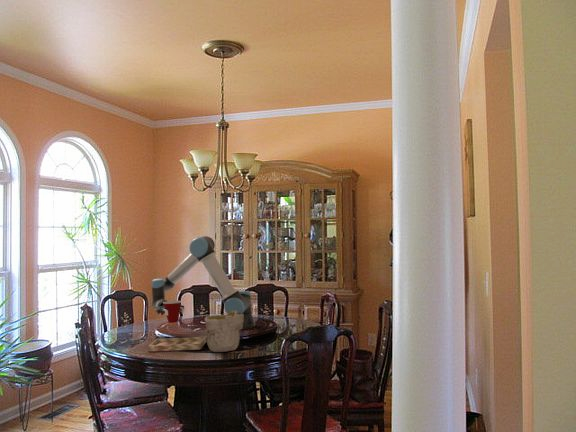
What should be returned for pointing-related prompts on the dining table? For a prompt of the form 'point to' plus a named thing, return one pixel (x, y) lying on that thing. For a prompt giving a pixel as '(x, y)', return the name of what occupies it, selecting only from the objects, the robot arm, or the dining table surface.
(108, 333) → the dining table surface
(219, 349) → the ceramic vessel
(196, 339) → the wooden compartment tray
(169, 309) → the plastic cup
